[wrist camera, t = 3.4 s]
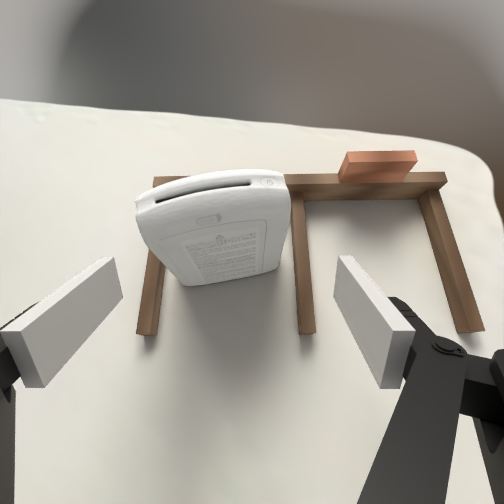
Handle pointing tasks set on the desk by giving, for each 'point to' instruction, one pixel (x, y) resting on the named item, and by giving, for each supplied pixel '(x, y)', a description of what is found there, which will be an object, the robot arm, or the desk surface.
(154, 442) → the desk surface
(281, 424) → the desk surface
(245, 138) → the desk surface
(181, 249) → the photo printer
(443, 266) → the wooden stand frame
